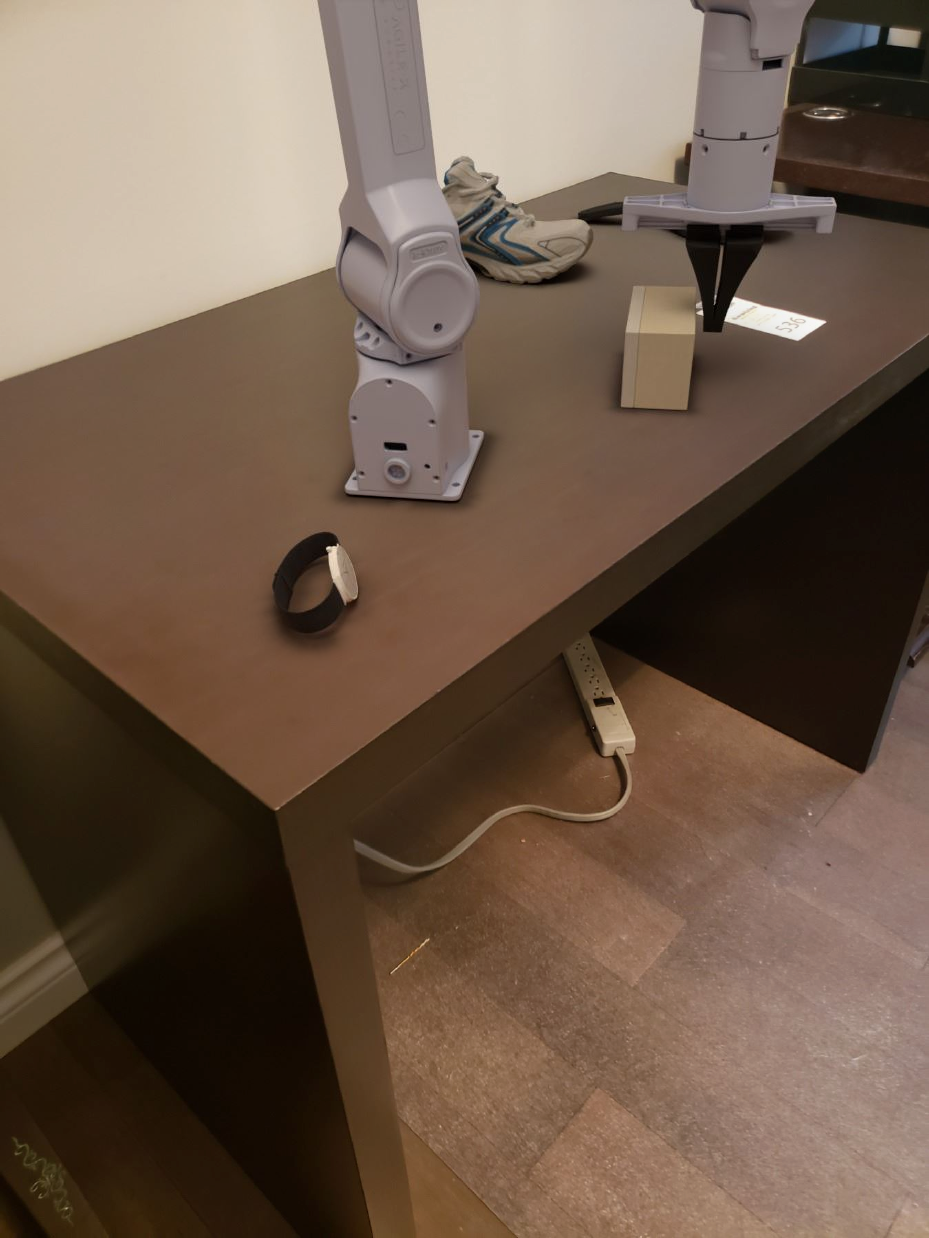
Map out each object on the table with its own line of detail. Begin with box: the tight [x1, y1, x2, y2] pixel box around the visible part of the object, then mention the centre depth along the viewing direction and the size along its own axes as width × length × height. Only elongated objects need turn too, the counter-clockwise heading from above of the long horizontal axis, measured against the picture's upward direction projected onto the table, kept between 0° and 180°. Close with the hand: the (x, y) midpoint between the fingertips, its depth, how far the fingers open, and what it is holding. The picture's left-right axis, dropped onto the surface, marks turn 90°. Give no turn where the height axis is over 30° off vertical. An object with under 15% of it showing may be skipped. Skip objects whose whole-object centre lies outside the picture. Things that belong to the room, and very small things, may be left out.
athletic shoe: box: [441, 155, 595, 285], centre depth 97 cm, size 10×23×12 cm, turn 78°
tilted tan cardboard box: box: [620, 285, 697, 411], centre depth 73 cm, size 10×5×6 cm, turn 169°
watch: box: [271, 531, 359, 635], centre depth 53 cm, size 8×5×4 cm, turn 3°
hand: (712, 327), depth 72 cm, fingers closed
